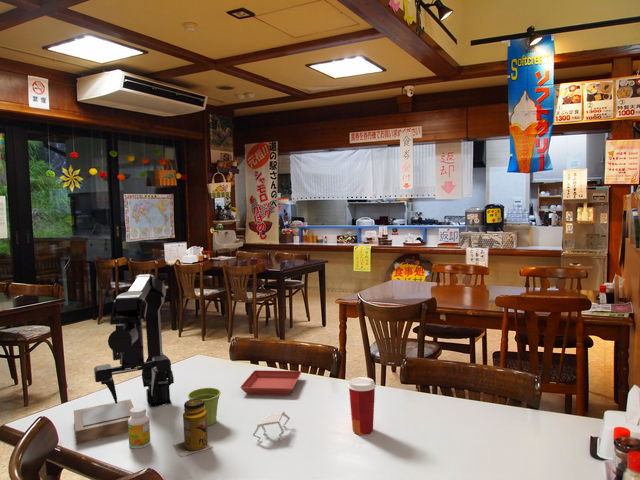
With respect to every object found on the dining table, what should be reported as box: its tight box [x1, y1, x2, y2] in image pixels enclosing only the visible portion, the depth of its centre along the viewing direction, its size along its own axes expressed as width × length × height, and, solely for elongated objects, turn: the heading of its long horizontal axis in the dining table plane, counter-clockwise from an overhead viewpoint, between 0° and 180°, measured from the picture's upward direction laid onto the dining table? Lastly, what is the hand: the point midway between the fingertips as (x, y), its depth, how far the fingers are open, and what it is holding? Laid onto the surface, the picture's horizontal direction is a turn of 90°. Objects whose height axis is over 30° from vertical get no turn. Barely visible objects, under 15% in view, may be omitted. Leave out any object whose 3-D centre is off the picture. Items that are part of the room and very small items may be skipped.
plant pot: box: [187, 387, 222, 426], centre depth 144 cm, size 9×9×9 cm
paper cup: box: [346, 376, 377, 436], centre depth 135 cm, size 8×8×14 cm
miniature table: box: [252, 411, 291, 442], centre depth 135 cm, size 12×8×5 cm
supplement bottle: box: [127, 405, 151, 449], centre depth 132 cm, size 5×5×10 cm
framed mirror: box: [73, 399, 135, 446], centre depth 143 cm, size 16×16×4 cm
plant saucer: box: [240, 369, 302, 396], centre depth 172 cm, size 18×18×3 cm
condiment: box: [172, 399, 214, 457], centre depth 129 cm, size 7×8×12 cm
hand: (134, 399), depth 131 cm, fingers open, 9 cm apart
